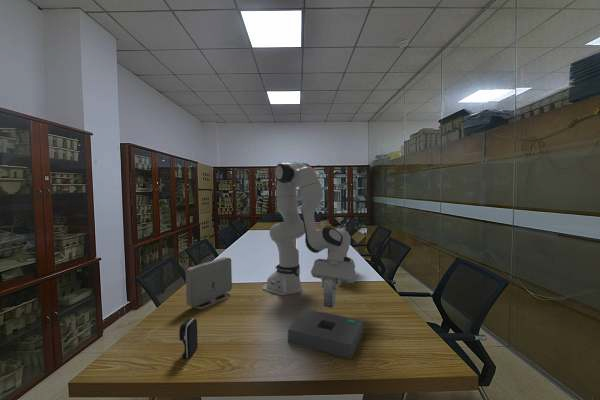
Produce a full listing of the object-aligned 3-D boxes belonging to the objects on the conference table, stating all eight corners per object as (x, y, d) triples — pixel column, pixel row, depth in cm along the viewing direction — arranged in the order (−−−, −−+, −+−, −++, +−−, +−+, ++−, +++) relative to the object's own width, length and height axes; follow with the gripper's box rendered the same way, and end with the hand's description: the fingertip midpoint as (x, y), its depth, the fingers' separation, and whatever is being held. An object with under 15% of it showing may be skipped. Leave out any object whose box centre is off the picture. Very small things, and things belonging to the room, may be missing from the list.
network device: (194, 312, 127) (193, 270, 126) (183, 308, 132) (181, 267, 131) (235, 294, 149) (234, 257, 148) (223, 291, 153) (222, 255, 152)
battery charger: (188, 347, 100) (187, 316, 99) (198, 347, 99) (197, 316, 99) (178, 359, 93) (177, 326, 92) (189, 359, 92) (188, 326, 92)
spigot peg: (323, 306, 120) (323, 279, 119) (326, 302, 123) (326, 276, 123) (332, 308, 118) (332, 281, 117) (335, 304, 122) (335, 278, 121)
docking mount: (288, 342, 102) (287, 328, 101) (307, 320, 118) (307, 308, 118) (351, 359, 91) (351, 343, 91) (363, 332, 108) (363, 319, 107)
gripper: (313, 254, 130) (305, 281, 122) (356, 259, 122) (350, 288, 113) (317, 261, 135) (309, 287, 126) (358, 266, 126) (353, 295, 118)
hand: (329, 288), depth 120 cm, fingers closed on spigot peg, 4 cm apart
